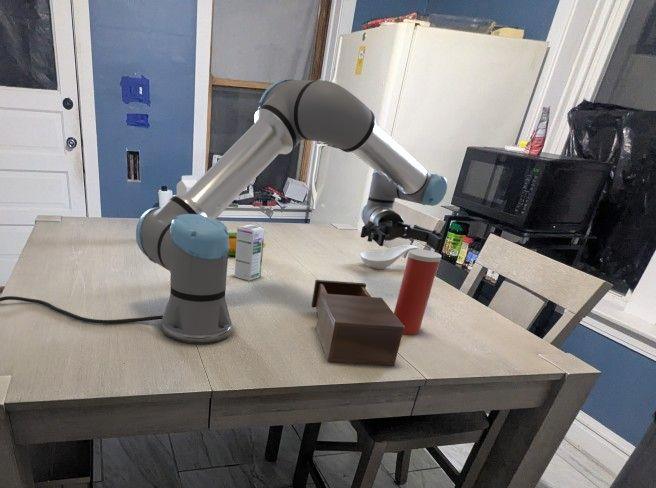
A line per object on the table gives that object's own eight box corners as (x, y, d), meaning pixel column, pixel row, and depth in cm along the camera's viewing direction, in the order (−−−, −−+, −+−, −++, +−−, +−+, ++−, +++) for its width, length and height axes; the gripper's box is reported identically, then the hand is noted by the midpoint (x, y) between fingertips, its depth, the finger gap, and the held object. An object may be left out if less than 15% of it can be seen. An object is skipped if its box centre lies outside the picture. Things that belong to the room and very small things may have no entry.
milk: (175, 239, 175) (176, 174, 165) (189, 238, 179) (190, 173, 168) (185, 243, 171) (186, 176, 161) (199, 241, 175) (201, 176, 164)
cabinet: (315, 328, 112) (321, 293, 108) (373, 332, 112) (381, 297, 108) (327, 361, 98) (335, 322, 93) (394, 366, 98) (404, 326, 94)
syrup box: (249, 281, 139) (254, 230, 132) (233, 276, 142) (237, 225, 135) (260, 277, 143) (265, 227, 136) (244, 272, 146) (248, 223, 139)
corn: (206, 228, 160) (263, 229, 165) (204, 251, 164) (260, 250, 169) (211, 235, 154) (270, 235, 159) (209, 258, 158) (267, 258, 163)
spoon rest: (367, 271, 157) (372, 249, 153) (352, 261, 167) (356, 240, 163) (432, 272, 162) (438, 250, 158) (414, 262, 172) (419, 241, 168)
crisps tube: (398, 335, 112) (418, 257, 103) (385, 323, 118) (403, 248, 109) (425, 335, 113) (447, 257, 105) (410, 323, 119) (431, 249, 110)
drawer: (308, 299, 126) (312, 274, 123) (355, 302, 127) (361, 277, 124) (320, 330, 109) (325, 301, 106) (374, 333, 110) (381, 305, 106)
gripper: (427, 241, 136) (457, 262, 118) (339, 234, 135) (355, 254, 117) (434, 213, 132) (467, 230, 114) (344, 206, 132) (362, 222, 113)
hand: (410, 242), depth 115 cm, fingers open, 13 cm apart
